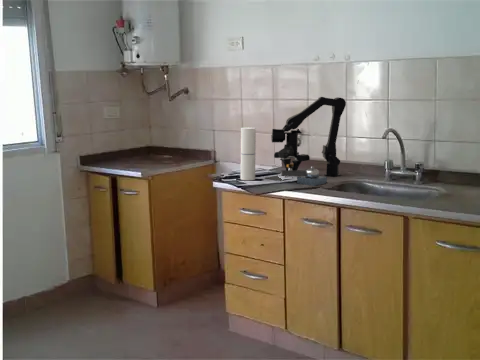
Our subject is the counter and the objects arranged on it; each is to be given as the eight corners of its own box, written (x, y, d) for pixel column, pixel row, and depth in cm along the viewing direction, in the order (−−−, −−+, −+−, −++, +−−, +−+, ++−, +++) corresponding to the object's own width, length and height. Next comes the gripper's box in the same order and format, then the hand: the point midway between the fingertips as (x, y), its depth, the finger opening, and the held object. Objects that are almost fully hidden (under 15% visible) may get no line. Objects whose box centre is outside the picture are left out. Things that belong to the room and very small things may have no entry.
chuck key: (292, 174, 295) (292, 163, 294) (297, 175, 293) (297, 163, 292) (285, 175, 291) (285, 164, 290) (289, 176, 289) (289, 164, 288)
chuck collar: (317, 175, 275) (317, 165, 274) (320, 177, 268) (320, 167, 267) (280, 175, 273) (280, 165, 273) (282, 177, 267) (282, 167, 266)
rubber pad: (277, 176, 291) (277, 175, 291) (293, 178, 284) (293, 177, 284) (264, 178, 283) (264, 177, 283) (280, 181, 277) (280, 180, 277)
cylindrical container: (238, 179, 280) (238, 128, 275) (243, 177, 286) (244, 127, 282) (252, 180, 277) (252, 128, 273) (257, 178, 284) (257, 127, 279)
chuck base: (309, 180, 279) (309, 174, 278) (326, 183, 272) (326, 176, 272) (296, 183, 271) (297, 176, 271) (314, 185, 265) (314, 179, 264)
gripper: (267, 142, 290) (266, 172, 292) (297, 145, 277) (296, 177, 280) (281, 140, 298) (280, 170, 301) (310, 143, 285) (309, 174, 288)
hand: (291, 173), depth 292 cm, fingers open, 4 cm apart
